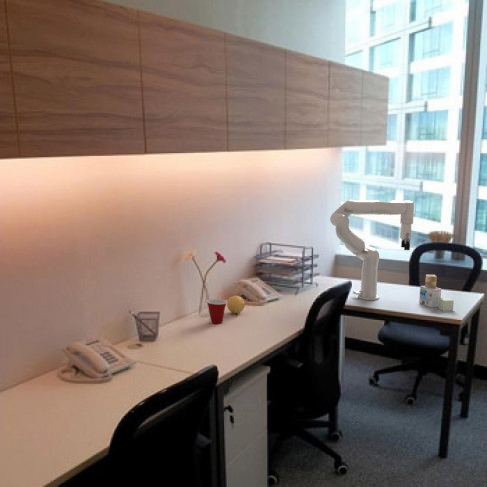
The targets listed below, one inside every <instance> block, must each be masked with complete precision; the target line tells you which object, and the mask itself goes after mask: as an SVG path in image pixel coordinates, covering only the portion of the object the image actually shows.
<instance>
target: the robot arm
mask: <svg viewBox="0 0 487 487" xmlns="http://www.w3.org/2000/svg"><path fill="white" fill-rule="evenodd" d="M414 210H415V202H414V201H411V200H403V201H399V200H390V201H380V200H374V199H373V200H355V199H348V200H346V201H345V202H344V203H342V204H341V205H340V206H339V207H338V208H337V209H336V210H334V211H333V213H332V214H331V216H330V218H329V219H330V224H332V225H333V226H335V234H336V236H337V238H338V239H339V240H340V242H342V243H343V244H344V246H345V248H346V249H347V250H349V252H350V253H352V254H353V255H355V256H356V257H357V258H358V259H360V260H361V261H363V262H362V266H361V276H360V277H361V278H360V279H361V282H360V284H361V286H360V289H359V290H353V291H352V294H354V295H357V297H358V299H360V300H364V301H376V300H379V299H380V296H379V295H378V294H377V292H378V290H377V289H378V268H379V263H380V262H379V261H380V254H379V252H378V250H377V249H376V248H373V247H371V246H369V245H368V244H366V243H365V241H364V240H363V239H362V237H359V236H358V235H357V234H355V232H353V231H352V230H351V229H350V219H349V217H350V216H351V215H354V216H355V215H358V216H359V215H362V216H363V215H365V216H366V215H377V216H379V215H384V216H385V215H387V216H388V215H389V216H391V215H393V216H394V215H395V216H396V215H397V216H398V215H399V216H400V219H399V220H400V221H399V222H400V224H401V225H400V232H399V234H400V235H399V238H400V239H401V241H400V242H401V244H400V247H401V248H404V251H410V250H411V239H412V238H411V237H412V225H413V224H414V212H415V211H414Z"/></svg>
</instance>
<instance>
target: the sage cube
mask: <svg viewBox="0 0 487 487" xmlns="http://www.w3.org/2000/svg"><path fill="white" fill-rule="evenodd" d="M454 303H455V301H454V299H452V298H450V297H441V298H439V304H438V307H437V308H438V309H440V310H441V311H442V310H443V312H445V311H448V310H449V311H450V310H453V311H454ZM449 311H448V312H449Z"/></svg>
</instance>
